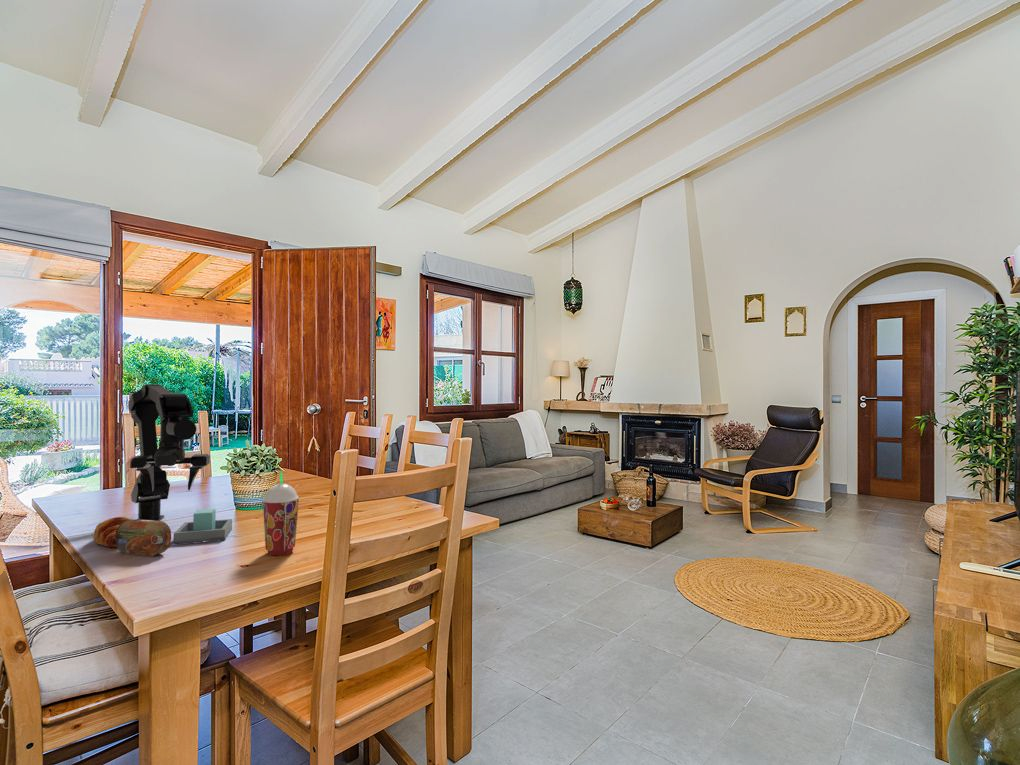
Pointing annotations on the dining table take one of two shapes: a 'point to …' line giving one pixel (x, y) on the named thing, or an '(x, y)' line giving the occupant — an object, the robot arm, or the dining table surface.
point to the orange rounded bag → (143, 537)
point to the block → (204, 520)
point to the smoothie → (280, 518)
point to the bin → (202, 532)
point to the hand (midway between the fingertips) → (170, 490)
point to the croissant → (108, 531)
